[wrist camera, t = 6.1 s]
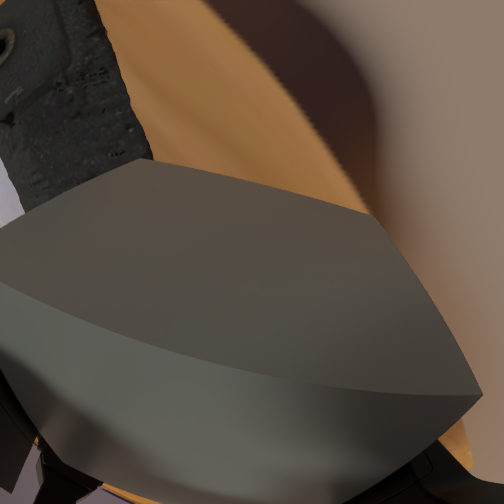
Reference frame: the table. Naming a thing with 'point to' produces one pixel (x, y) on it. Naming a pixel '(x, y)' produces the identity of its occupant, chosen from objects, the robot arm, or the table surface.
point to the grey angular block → (222, 340)
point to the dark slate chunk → (61, 99)
